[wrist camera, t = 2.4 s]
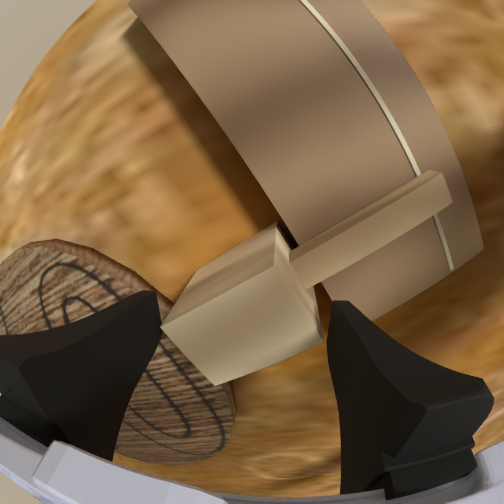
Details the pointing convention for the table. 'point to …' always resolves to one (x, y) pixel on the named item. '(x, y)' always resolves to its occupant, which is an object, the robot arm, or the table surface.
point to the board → (325, 127)
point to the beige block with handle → (284, 285)
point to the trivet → (158, 370)
